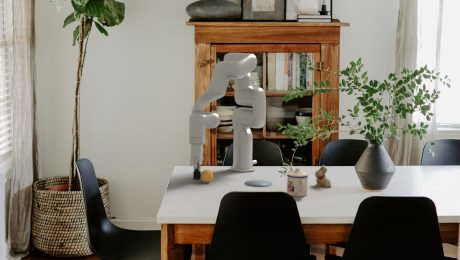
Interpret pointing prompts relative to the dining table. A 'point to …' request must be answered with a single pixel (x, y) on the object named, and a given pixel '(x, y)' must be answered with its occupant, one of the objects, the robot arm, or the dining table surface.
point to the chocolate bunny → (322, 178)
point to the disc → (258, 183)
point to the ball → (206, 176)
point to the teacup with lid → (297, 182)
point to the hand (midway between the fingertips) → (197, 179)
